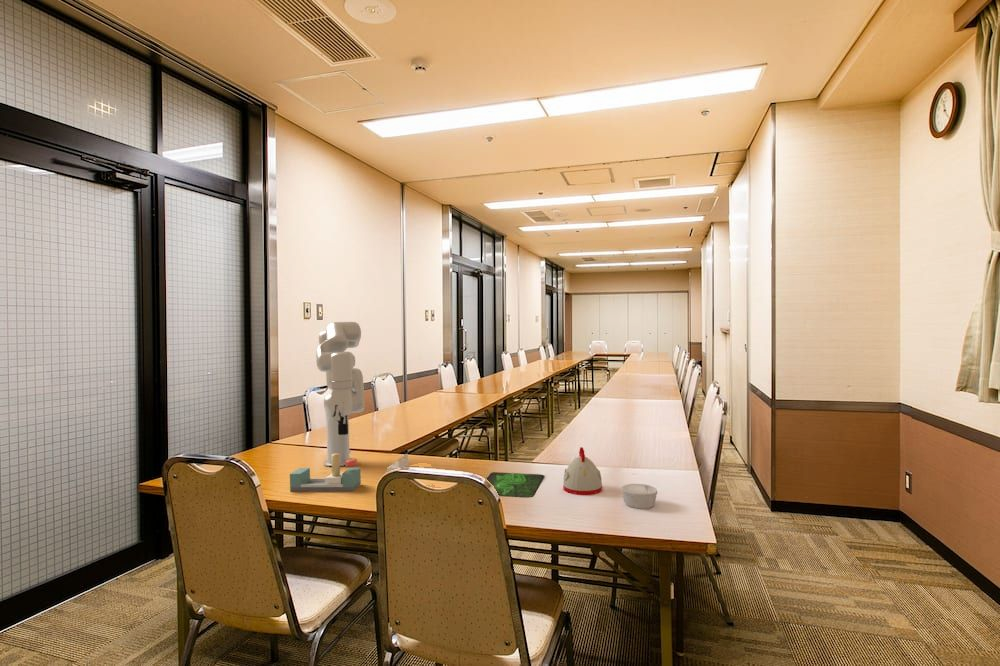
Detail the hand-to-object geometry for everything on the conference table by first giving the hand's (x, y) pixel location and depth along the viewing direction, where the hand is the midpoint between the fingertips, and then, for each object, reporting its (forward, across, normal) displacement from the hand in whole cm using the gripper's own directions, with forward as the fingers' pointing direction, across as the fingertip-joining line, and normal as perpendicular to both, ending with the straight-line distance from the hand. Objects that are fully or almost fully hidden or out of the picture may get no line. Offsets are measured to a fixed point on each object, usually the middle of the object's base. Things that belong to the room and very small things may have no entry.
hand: (343, 434), depth 191 cm
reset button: (+12, -1, +3) cm, 12 cm away
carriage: (+19, -1, -3) cm, 19 cm away
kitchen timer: (+21, -1, +88) cm, 91 cm away
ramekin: (+22, +15, +106) cm, 109 cm away
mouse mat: (+21, -6, +62) cm, 66 cm away
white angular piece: (+21, +10, +24) cm, 33 cm away
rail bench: (+20, 0, -8) cm, 22 cm away
